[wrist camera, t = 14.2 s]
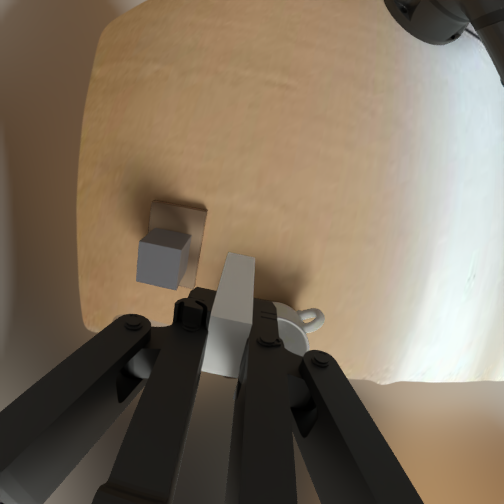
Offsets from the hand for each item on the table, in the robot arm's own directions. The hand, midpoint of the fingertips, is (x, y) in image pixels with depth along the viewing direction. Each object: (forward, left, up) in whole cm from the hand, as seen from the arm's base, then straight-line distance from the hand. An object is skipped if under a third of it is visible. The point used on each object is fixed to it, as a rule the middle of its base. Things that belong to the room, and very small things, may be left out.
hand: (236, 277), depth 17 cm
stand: (+9, -9, -27) cm, 30 cm away
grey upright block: (+9, -9, -25) cm, 28 cm away
